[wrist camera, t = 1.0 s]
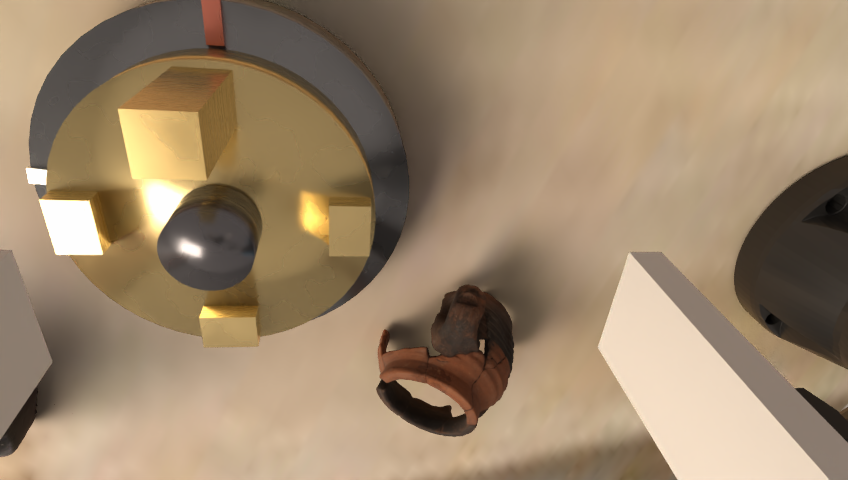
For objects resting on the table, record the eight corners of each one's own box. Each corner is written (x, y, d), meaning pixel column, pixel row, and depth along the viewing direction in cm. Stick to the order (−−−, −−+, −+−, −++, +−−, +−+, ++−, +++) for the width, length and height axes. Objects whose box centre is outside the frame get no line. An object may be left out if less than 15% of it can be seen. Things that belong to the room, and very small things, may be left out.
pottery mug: (512, 364, 42) (484, 460, 37) (403, 328, 44) (361, 414, 39) (543, 264, 34) (513, 370, 28) (406, 225, 36) (353, 316, 30)
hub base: (416, 5, 27) (443, 35, 19) (394, 301, 37) (407, 400, 29) (7, -27, 24) (-151, -8, 16) (99, 303, 34) (26, 414, 26)
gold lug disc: (368, 308, 32) (375, 419, 25) (107, 311, 30) (31, 433, 23) (379, 59, 25) (393, 112, 18) (33, 36, 23) (-116, 87, 15)
